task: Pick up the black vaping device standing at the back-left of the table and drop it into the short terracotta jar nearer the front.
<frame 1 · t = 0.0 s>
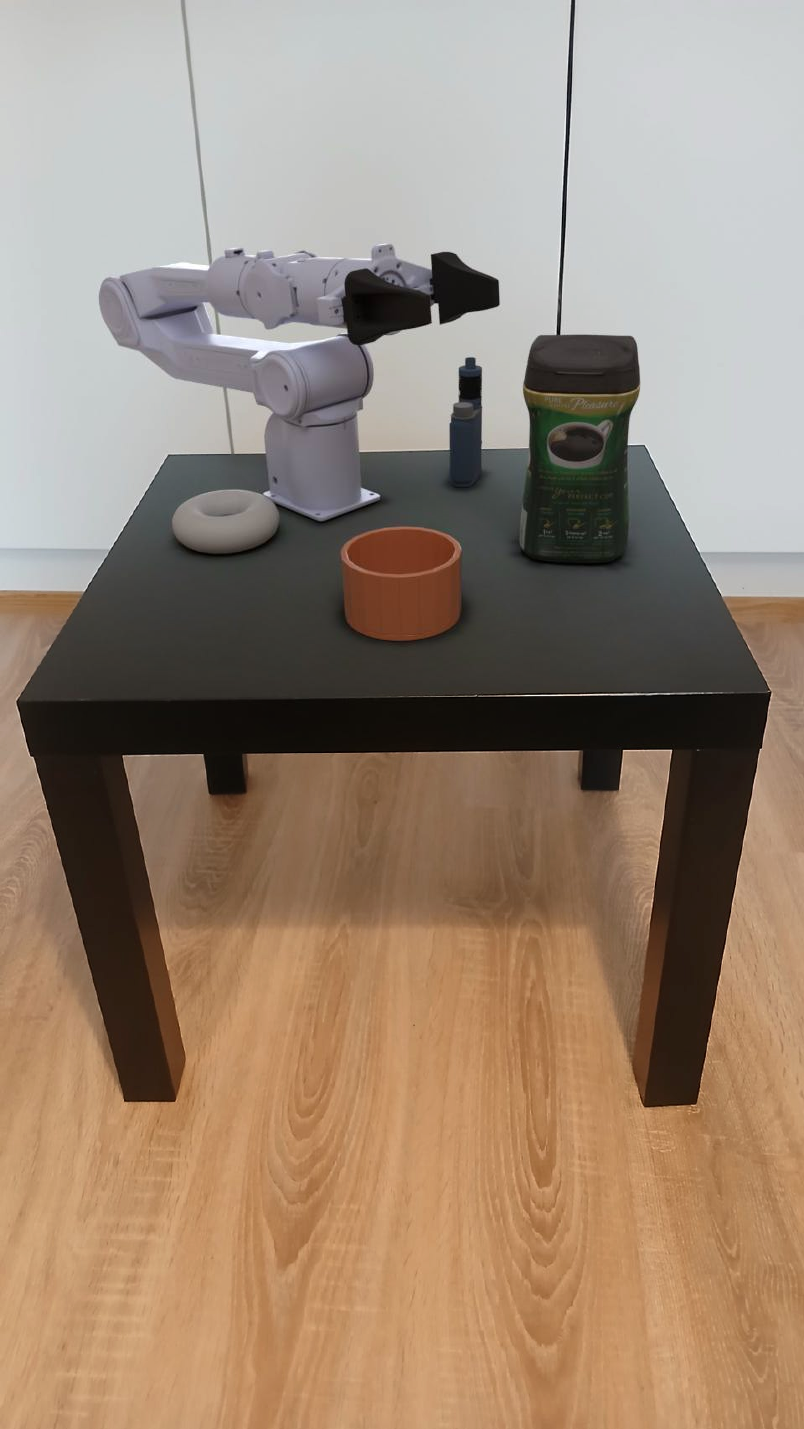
hand: (463, 301, 82), 22 cm above the table, tool horizontal, fingers open, 7 cm apart
donut: (228, 539, 99), on the table
coffee jar: (571, 550, 95), on the table
jar: (402, 612, 86), on the table
vaping device: (466, 481, 110), on the table
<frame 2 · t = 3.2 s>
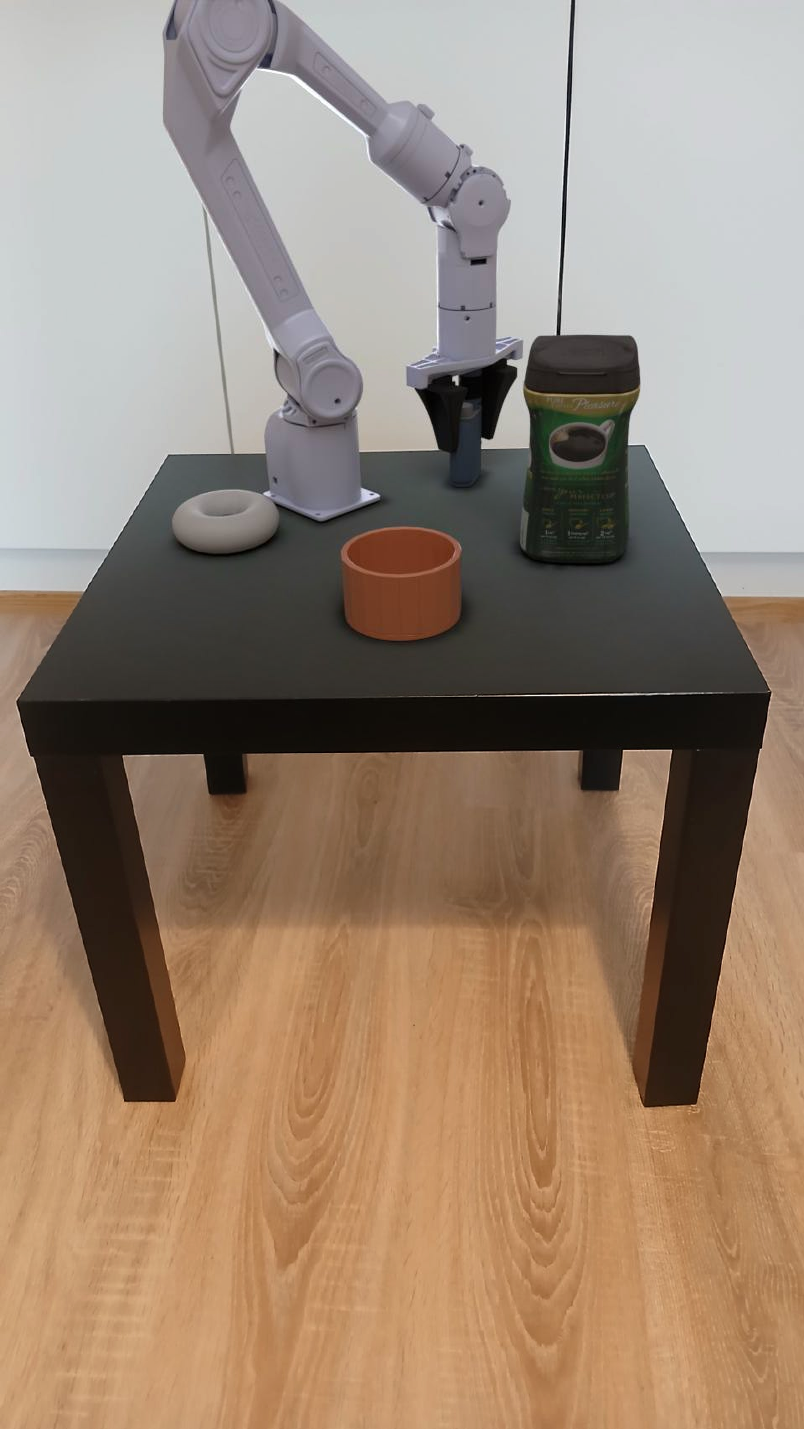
hand: (466, 443, 108), 4 cm above the table, tool pointing down, fingers closed on vaping device, 5 cm apart
vaping device: (465, 481, 110), on the table, touching gripper
everything else where it was.
when the fingers open (6 cm above the table, at t = 8.9 s): vaping device drops 2 cm, resting on jar.
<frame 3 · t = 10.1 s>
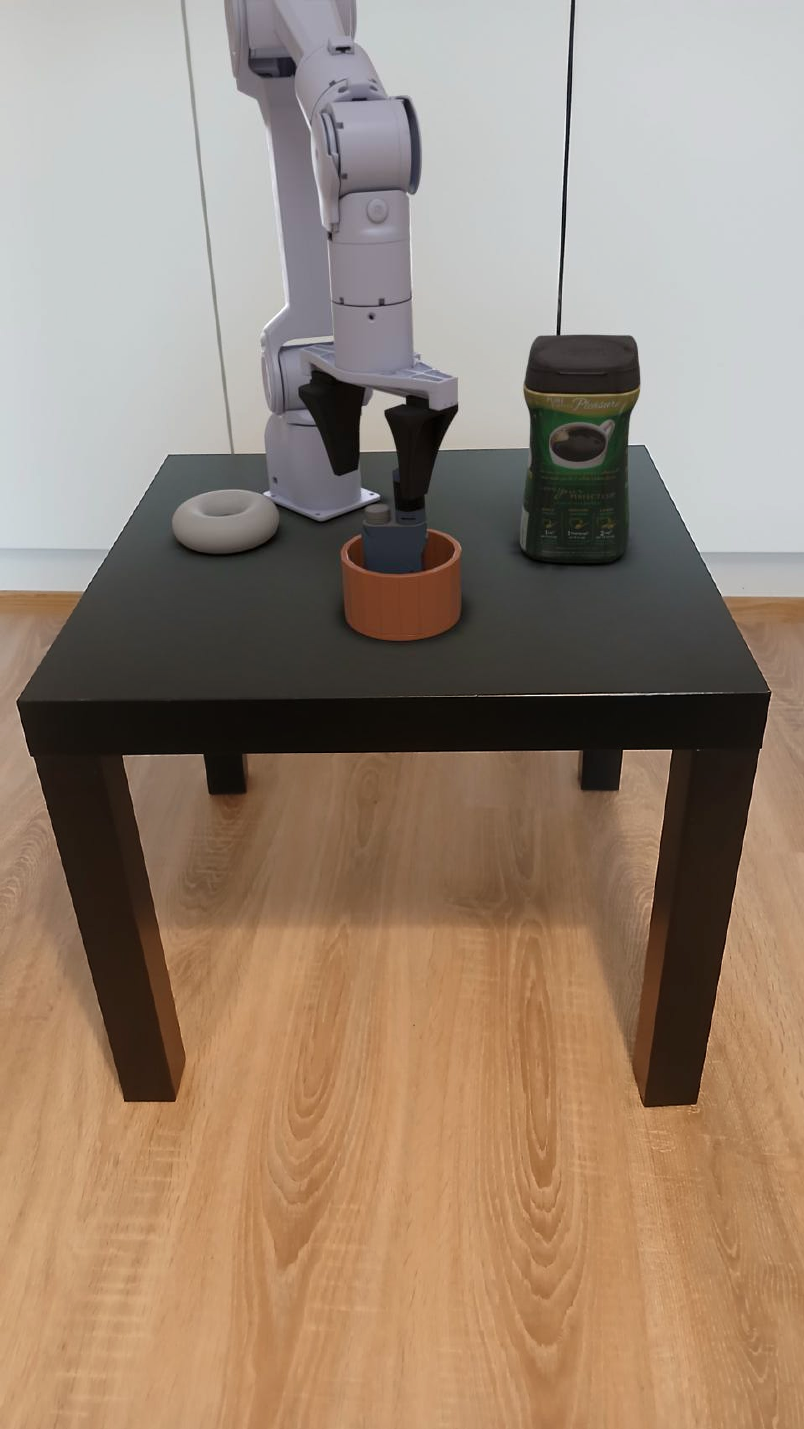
hand: (379, 483, 81), 10 cm above the table, tool pointing down, fingers open, 7 cm apart
vaping device: (400, 606, 86), resting on jar, touching gripper
everything else where it was.
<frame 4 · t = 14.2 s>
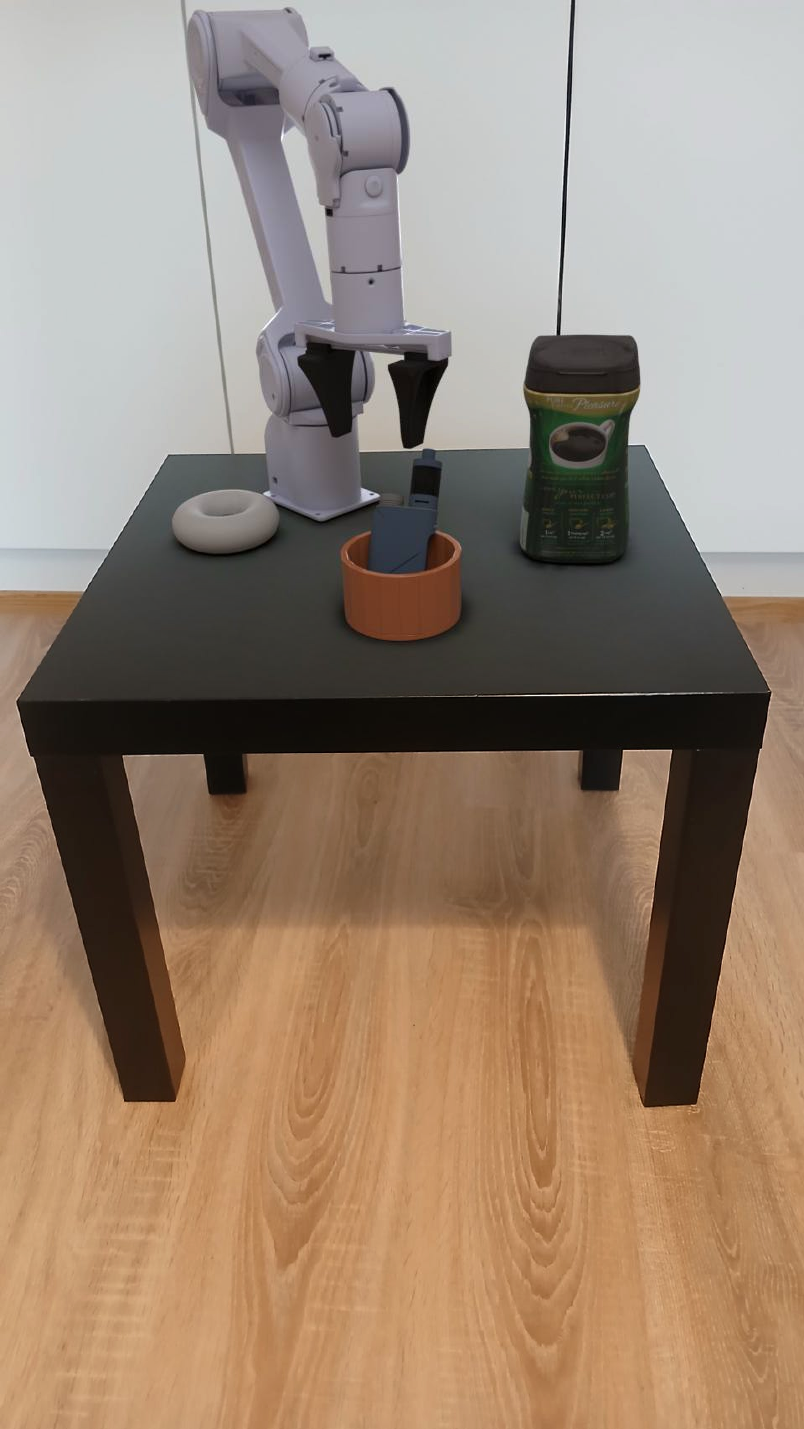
hand: (376, 440, 90), 10 cm above the table, tool pointing down, fingers open, 7 cm apart
vaping device: (396, 600, 85), point 1 cm above the table, touching jar
everything else where it was.
at the end: vaping device inside the target area in the jar (0.6 cm from its centre), point 1.0 cm above the jar's base; the gripper is holding nothing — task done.
